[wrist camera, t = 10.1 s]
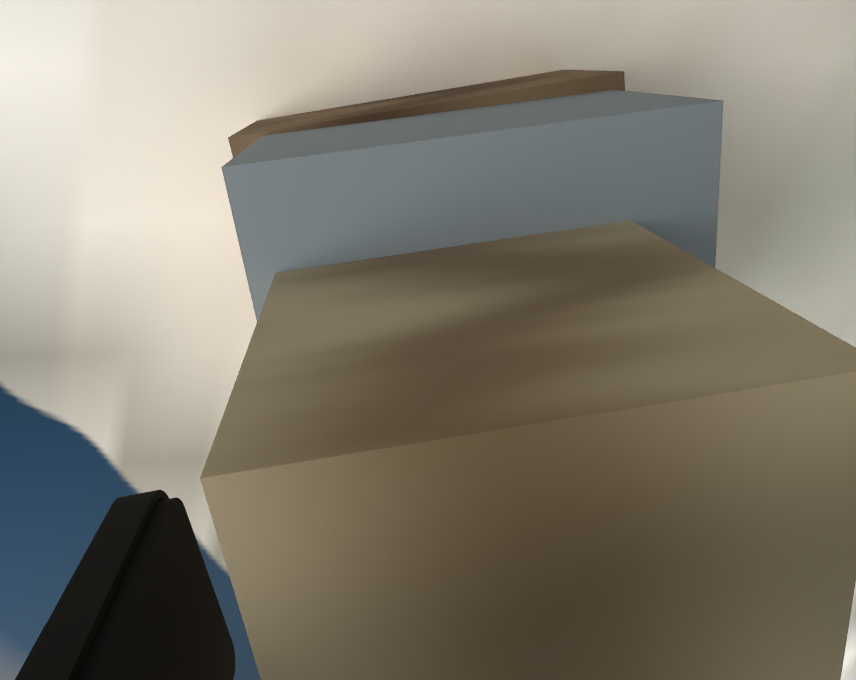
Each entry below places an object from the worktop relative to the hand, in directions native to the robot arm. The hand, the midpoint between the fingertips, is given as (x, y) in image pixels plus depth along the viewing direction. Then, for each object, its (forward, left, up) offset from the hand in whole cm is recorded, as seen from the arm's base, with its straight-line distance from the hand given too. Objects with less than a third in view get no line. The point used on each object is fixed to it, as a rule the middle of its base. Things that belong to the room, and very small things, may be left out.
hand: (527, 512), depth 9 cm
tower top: (0, -1, -8) cm, 8 cm away
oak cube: (0, 0, -3) cm, 3 cm away
